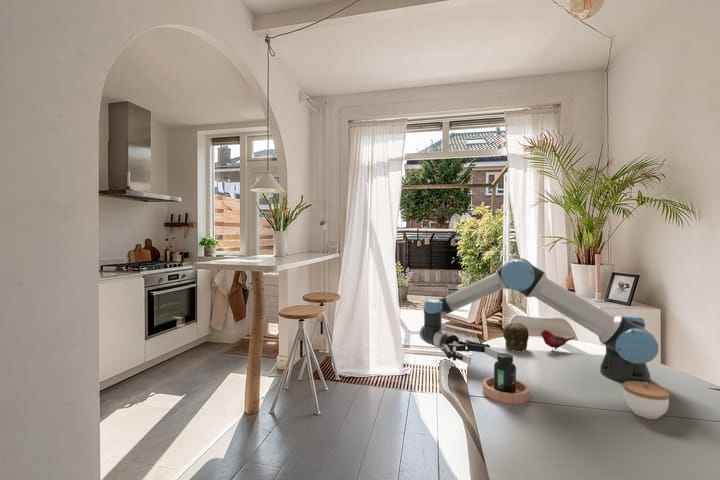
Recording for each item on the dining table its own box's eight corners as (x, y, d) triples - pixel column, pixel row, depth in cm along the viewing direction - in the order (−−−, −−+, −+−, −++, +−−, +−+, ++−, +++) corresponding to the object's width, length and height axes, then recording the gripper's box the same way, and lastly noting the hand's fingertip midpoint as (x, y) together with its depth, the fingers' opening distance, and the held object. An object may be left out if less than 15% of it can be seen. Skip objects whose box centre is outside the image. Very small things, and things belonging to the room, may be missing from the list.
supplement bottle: (501, 396, 111) (502, 359, 111) (489, 387, 118) (490, 352, 118) (520, 394, 112) (520, 357, 112) (507, 385, 119) (507, 351, 119)
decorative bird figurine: (538, 350, 160) (538, 329, 160) (573, 349, 162) (573, 328, 162) (542, 352, 157) (542, 330, 157) (577, 351, 159) (577, 329, 159)
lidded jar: (679, 425, 96) (679, 392, 96) (635, 421, 98) (635, 388, 98) (654, 407, 106) (654, 376, 106) (615, 403, 108) (615, 374, 108)
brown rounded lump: (529, 347, 165) (530, 322, 165) (527, 353, 155) (527, 327, 155) (505, 343, 170) (505, 319, 170) (501, 349, 161) (501, 324, 161)
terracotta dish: (536, 395, 114) (536, 386, 114) (515, 408, 105) (515, 398, 105) (496, 381, 125) (496, 373, 125) (475, 392, 116) (475, 383, 116)
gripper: (470, 347, 148) (509, 363, 129) (421, 354, 138) (457, 373, 118) (470, 329, 148) (509, 343, 129) (421, 336, 138) (457, 352, 118)
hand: (484, 358), depth 123 cm, fingers open, 13 cm apart
